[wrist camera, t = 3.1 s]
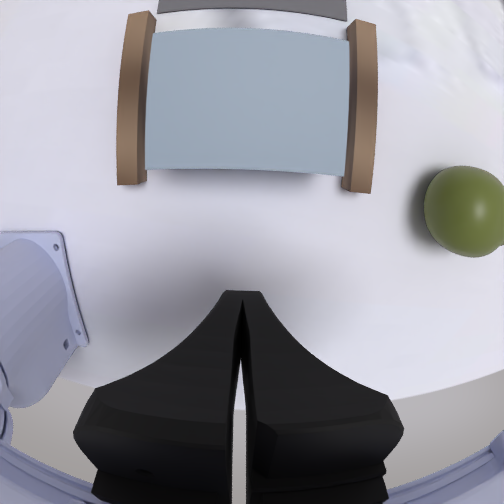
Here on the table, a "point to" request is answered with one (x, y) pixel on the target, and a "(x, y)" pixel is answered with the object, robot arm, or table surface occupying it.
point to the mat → (263, 6)
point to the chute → (135, 97)
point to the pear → (466, 211)
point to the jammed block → (247, 101)
